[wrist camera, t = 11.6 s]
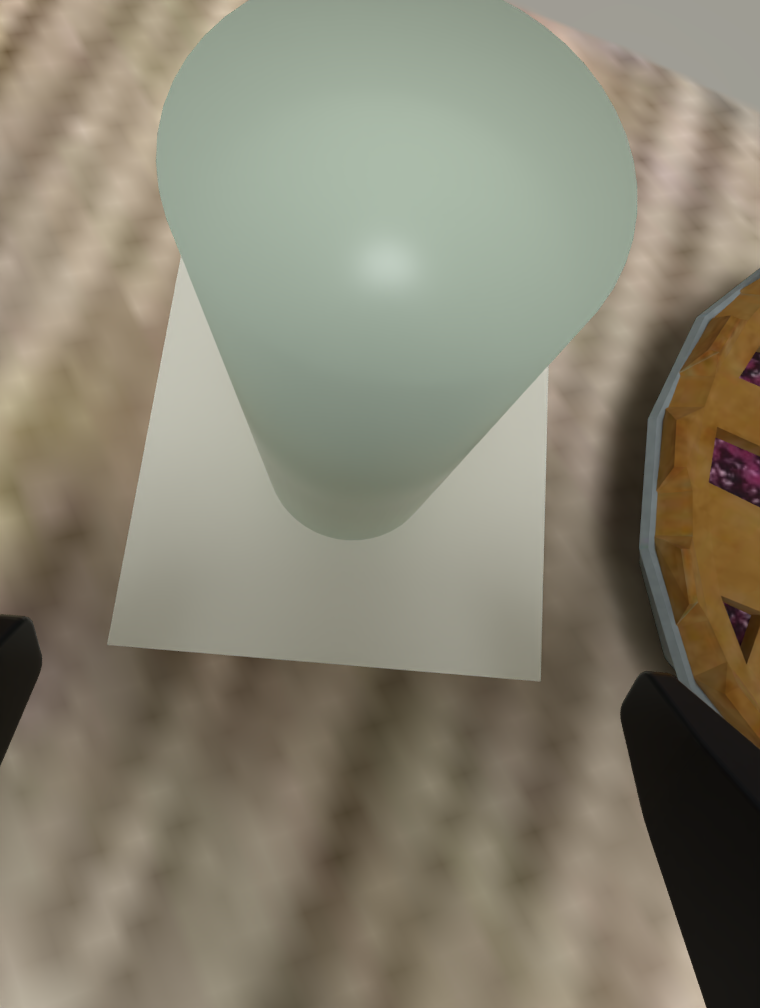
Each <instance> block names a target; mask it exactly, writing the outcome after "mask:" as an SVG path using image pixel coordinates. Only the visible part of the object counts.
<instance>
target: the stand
mask: <svg viewBox="0 0 760 1008" xmlns="http://www.w3.org/2000/svg"><path fill="white" fill-rule="evenodd" d="M547 405H548V366H547V368H546V369H545V370H544V371H543V372H542V373H541V374H540V375H539V376H538V378H537V379H536V380H535V381H534V382H533V383H532V384H531V385H530V386H529V387H528V389H527V390H526V391H525V392H524V393H523V394H522V395H521V396H520V397H519V398H518V400H517V401H516V402H515V403H514V404H513V405H512V406H511V407H510V408H509V410H508V411H507V412H506V413H505V414H504V415H503V416H502V417H501V418H500V419H499V421H498V422H497V423H496V424H495V425H494V426H493V427H492V428H491V429H490V430H489V432H488V433H487V434H486V435H485V436H484V437H483V438H482V439H481V440H480V442H479V443H478V444H477V445H476V446H475V447H474V448H473V449H472V450H471V451H470V453H469V454H468V455H467V456H466V457H465V458H464V459H463V460H462V461H461V463H460V464H459V465H458V466H457V467H456V468H455V469H454V470H453V471H452V472H451V474H450V475H449V476H448V477H447V478H446V479H445V480H444V481H443V482H442V483H441V485H440V486H439V487H438V488H437V489H436V490H435V491H434V492H433V493H432V495H431V496H430V497H429V498H428V499H427V500H426V501H425V502H424V503H423V504H422V506H421V507H420V508H419V509H418V510H417V511H416V512H415V513H414V514H413V515H412V516H411V517H410V518H409V519H408V520H407V521H406V522H405V523H403V524H402V525H401V526H399V527H397V528H396V529H394V530H393V531H391V532H388V533H386V534H384V535H381V536H378V537H374V538H371V539H364V540H341V539H335V538H331V537H327V536H324V535H321V534H319V533H316V532H314V531H313V530H311V529H309V528H307V527H305V526H304V525H303V524H301V523H300V522H299V521H297V520H296V519H295V518H294V517H293V516H292V515H291V514H290V513H289V512H288V511H287V510H286V508H285V507H284V506H283V505H282V503H281V502H280V500H279V498H278V497H277V495H276V493H275V490H274V488H273V486H272V483H271V481H270V478H269V476H268V473H267V471H266V468H265V466H264V463H263V461H262V458H261V456H260V453H259V451H258V448H257V446H256V443H255V441H254V438H253V436H252V433H251V430H250V428H249V425H248V423H247V420H246V418H245V415H244V413H243V410H242V408H241V405H240V403H239V400H238V398H237V395H236V393H235V390H234V388H233V385H232V383H231V380H230V378H229V375H228V373H227V370H226V368H225V365H224V363H223V360H222V358H221V355H220V353H219V350H218V347H217V345H216V342H215V340H214V337H213V335H212V332H211V330H210V327H209V325H208V322H207V320H206V317H205V315H204V312H203V310H202V307H201V305H200V302H199V300H198V297H197V295H196V292H195V290H194V287H193V285H192V282H191V280H190V277H189V275H188V272H187V269H186V267H185V264H184V262H183V259H182V257H181V259H180V264H179V270H178V275H177V280H176V285H175V291H174V296H173V301H172V306H171V312H170V317H169V322H168V327H167V333H166V338H165V343H164V349H163V354H162V359H161V364H160V370H159V375H158V380H157V385H156V391H155V396H154V401H153V406H152V412H151V417H150V422H149V427H148V433H147V438H146V443H145V448H144V454H143V459H142V464H141V469H140V475H139V480H138V485H137V490H136V496H135V501H134V506H133V511H132V517H131V522H130V527H129V532H128V538H127V543H126V548H125V553H124V559H123V564H122V569H121V574H120V580H119V585H118V590H117V595H116V601H115V606H114V611H113V616H112V622H111V627H110V632H109V637H108V643H107V645H113V646H125V647H137V648H149V649H161V650H172V651H184V652H196V653H208V654H220V655H232V656H244V657H255V658H267V659H279V660H291V661H303V662H315V663H327V664H338V665H350V666H362V667H374V668H386V669H398V670H410V671H421V672H433V673H445V674H457V675H469V676H481V677H493V678H504V679H516V680H528V681H540V682H541V646H542V605H543V565H544V525H545V485H546V445H547Z"/></svg>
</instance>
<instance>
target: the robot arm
mask: <svg viewBox="0 0 760 1008" xmlns="http://www.w3.org/2000/svg"><path fill="white" fill-rule="evenodd" d="M41 667H42V654H41V650H40V647H39V643H38V639H37V636H36V632H35V628H34V625H33V622H32V621H31V620H30V619H29V618H28V617H25V616H16V615H5V614H0V765H1V763H2V761H3V759H4V756H5V754H6V752H7V749H8V747H9V745H10V742H11V740H12V737H13V735H14V733H15V730H16V728H17V726H18V723H19V721H20V719H21V716H22V714H23V712H24V709H25V707H26V704H27V702H28V700H29V697H30V695H31V693H32V690H33V688H34V686H35V683H36V681H37V679H38V676H39V674H40V671H41ZM620 715H621V723H622V727H623V732H624V736H625V740H626V745H627V749H628V754H629V758H630V762H631V767H632V771H633V775H634V780H635V784H636V788H637V793H638V797H639V801H640V805H641V809H642V813H643V817H644V821H645V824H646V827H647V830H648V833H649V837H650V840H651V843H652V846H653V849H654V852H655V855H656V858H657V861H658V864H659V867H660V870H661V873H662V876H663V879H664V882H665V885H666V888H667V891H668V894H669V897H670V900H671V903H672V906H673V909H674V912H675V915H676V918H677V921H678V924H679V927H680V930H681V933H682V936H683V939H684V942H685V945H686V948H687V951H688V954H689V957H690V960H691V963H692V966H693V969H694V972H695V975H696V978H697V981H698V984H699V987H700V990H701V993H702V996H703V999H704V1002H705V1005H706V1008H760V749H759V748H758V747H757V746H756V745H754V744H753V743H752V742H751V741H750V740H749V739H747V738H746V737H745V736H744V735H743V734H742V733H740V732H739V731H738V730H737V729H736V728H734V727H733V726H732V725H731V724H730V723H729V722H727V721H726V720H725V719H724V718H723V717H721V716H720V715H719V714H718V713H717V712H716V711H714V710H713V709H712V708H711V707H710V706H708V705H707V704H706V703H705V702H704V701H703V700H701V699H700V698H699V697H698V696H697V695H696V694H694V693H693V692H692V691H691V690H690V689H688V688H687V687H686V686H685V685H684V684H683V683H681V682H680V681H679V680H678V679H677V678H675V677H674V676H673V675H671V674H668V673H663V672H651V671H644V672H642V673H641V674H639V676H638V677H637V679H636V680H635V682H634V684H633V686H632V687H631V689H630V691H629V693H628V694H627V696H626V698H625V699H624V701H623V703H622V706H621V712H620Z"/></svg>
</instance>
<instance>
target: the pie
mask: <svg viewBox="0 0 760 1008" xmlns="http://www.w3.org/2000/svg"><path fill="white" fill-rule="evenodd" d="M639 550H640V561H639V564H640V568H641V571H642V575H643V579H644V582H645V586H646V590H647V594H648V597H649V601H650V605H651V609H652V612H653V616H654V620H655V623H656V627H657V631H658V635H659V638H660V642H661V646H662V649H663V653H664V656H665V659H666V660H667V661H668V662H669V664H670V665H671V666H672V667H673V668H674V669H675V671H676V674H677V678H678V680H679V681H680V682H681V683H683V684H684V685H685V686H686V687H687V688H688V689H690V690H691V691H692V692H693V693H694V694H696V695H697V696H698V697H699V698H700V699H701V700H703V701H704V702H705V703H706V704H707V705H708V706H710V707H711V708H712V709H713V710H714V711H716V712H717V713H718V714H719V715H720V716H721V717H723V718H724V719H725V720H726V721H727V722H729V723H730V724H731V725H732V726H733V727H734V728H736V729H737V730H738V731H739V732H740V733H742V734H743V735H744V736H745V737H746V738H747V739H749V740H750V741H751V742H752V743H753V744H754V745H756V746H757V747H758V748H759V749H760V268H759V269H758V270H757V271H756V272H754V273H753V274H752V275H750V276H749V277H748V278H747V279H745V280H744V281H743V282H741V283H740V284H739V285H738V286H736V287H735V288H734V289H732V290H731V291H730V292H729V293H727V294H726V295H725V296H723V297H722V298H721V299H720V300H718V301H717V302H716V303H714V304H713V305H712V306H711V307H709V308H708V309H707V310H705V311H704V312H703V313H702V314H700V315H699V316H698V317H696V319H695V322H694V324H693V326H692V328H691V330H690V332H689V334H688V336H687V338H686V340H685V343H684V345H683V347H682V349H681V351H680V353H679V355H678V357H677V359H676V361H675V363H674V366H673V368H672V370H671V372H670V374H669V376H668V378H667V380H666V382H665V384H664V386H663V389H662V391H661V393H660V395H659V397H658V399H657V401H656V403H655V405H654V407H653V409H652V412H651V414H650V416H649V418H648V427H647V441H646V455H645V470H644V484H643V498H642V513H641V527H640V541H639Z"/></svg>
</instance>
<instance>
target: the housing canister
mask: <svg viewBox="0 0 760 1008" xmlns="http://www.w3.org/2000/svg"><path fill="white" fill-rule="evenodd" d="M156 166H157V176H158V185H159V192H160V196H161V200H162V204H163V208H164V211H165V215H166V219H167V222H168V224H169V227H170V229H171V232H172V234H173V237H174V239H175V242H176V244H177V247H178V249H179V252H180V254H181V257H182V259H183V262H184V264H185V267H186V269H187V272H188V275H189V277H190V280H191V282H192V285H193V287H194V290H195V292H196V295H197V297H198V300H199V302H200V305H201V307H202V310H203V312H204V315H205V317H206V320H207V322H208V325H209V327H210V330H211V332H212V335H213V337H214V340H215V342H216V345H217V347H218V350H219V353H220V355H221V358H222V360H223V363H224V365H225V368H226V370H227V373H228V375H229V378H230V380H231V383H232V385H233V388H234V390H235V393H236V395H237V398H238V400H239V403H240V405H241V408H242V410H243V413H244V415H245V418H246V420H247V423H248V425H249V428H250V430H251V433H252V436H253V438H254V441H255V443H256V446H257V448H258V451H259V453H260V456H261V458H262V461H263V463H264V466H265V468H266V471H267V473H268V476H269V478H270V481H271V483H272V486H273V488H274V490H275V493H276V495H277V497H278V498H279V500H280V502H281V503H282V505H283V506H284V507H285V508H286V510H287V511H288V512H289V513H290V514H291V515H292V516H293V517H294V518H295V519H296V520H297V521H299V522H300V523H301V524H303V525H304V526H305V527H307V528H309V529H311V530H313V531H314V532H316V533H319V534H321V535H324V536H327V537H331V538H335V539H341V540H364V539H371V538H374V537H378V536H381V535H384V534H386V533H388V532H391V531H393V530H394V529H396V528H397V527H399V526H401V525H402V524H403V523H405V522H406V521H407V520H408V519H409V518H410V517H411V516H412V515H413V514H414V513H415V512H416V511H417V510H418V509H419V508H420V507H421V506H422V504H423V503H424V502H425V501H426V500H427V499H428V498H429V497H430V496H431V495H432V493H433V492H434V491H435V490H436V489H437V488H438V487H439V486H440V485H441V483H442V482H443V481H444V480H445V479H446V478H447V477H448V476H449V475H450V474H451V472H452V471H453V470H454V469H455V468H456V467H457V466H458V465H459V464H460V463H461V461H462V460H463V459H464V458H465V457H466V456H467V455H468V454H469V453H470V451H471V450H472V449H473V448H474V447H475V446H476V445H477V444H478V443H479V442H480V440H481V439H482V438H483V437H484V436H485V435H486V434H487V433H488V432H489V430H490V429H491V428H492V427H493V426H494V425H495V424H496V423H497V422H498V421H499V419H500V418H501V417H502V416H503V415H504V414H505V413H506V412H507V411H508V410H509V408H510V407H511V406H512V405H513V404H514V403H515V402H516V401H517V400H518V398H519V397H520V396H521V395H522V394H523V393H524V392H525V391H526V390H527V389H528V387H529V386H530V385H531V384H532V383H533V382H534V381H535V380H536V379H537V378H538V376H539V375H540V374H541V373H542V372H543V371H544V370H545V369H546V368H547V366H548V365H549V364H550V363H551V362H552V361H553V360H554V359H555V358H556V357H557V355H558V354H559V353H560V352H561V351H562V350H563V349H564V348H565V347H566V345H567V344H568V343H569V342H570V341H571V340H572V339H573V338H574V337H575V336H576V334H577V333H578V332H579V331H580V330H581V329H582V328H583V327H584V326H585V325H586V323H587V322H588V321H589V320H590V319H591V318H592V317H593V316H594V315H595V313H596V312H597V311H598V310H599V309H600V307H601V306H602V304H603V303H604V301H605V300H606V298H607V297H608V296H609V294H610V293H611V291H612V290H613V288H614V286H615V284H616V282H617V280H618V278H619V276H620V274H621V272H622V270H623V268H624V266H625V264H626V260H627V257H628V254H629V251H630V247H631V244H632V241H633V237H634V230H635V223H636V217H637V182H636V175H635V168H634V161H633V157H632V154H631V150H630V147H629V143H628V139H627V136H626V133H625V131H624V129H623V126H622V124H621V122H620V119H619V117H618V115H617V112H616V110H615V108H614V107H613V105H612V103H611V102H610V100H609V98H608V96H607V95H606V93H605V91H604V90H603V88H602V86H601V85H600V84H599V82H598V81H597V80H596V78H595V77H594V76H593V74H592V73H591V72H590V70H589V69H588V68H587V66H586V65H585V64H584V63H583V62H582V61H581V60H580V59H579V58H578V57H577V56H576V55H575V53H574V52H573V51H572V50H571V49H570V48H569V47H568V46H567V45H566V44H565V43H564V42H562V41H561V40H560V39H559V38H558V37H557V36H555V35H554V34H553V33H552V32H551V31H549V30H548V29H547V28H546V27H545V26H543V25H542V24H540V23H539V22H538V21H536V20H535V19H533V18H532V17H530V16H529V15H527V14H526V13H524V12H523V11H521V10H520V9H518V8H516V7H514V6H512V5H510V4H509V3H507V2H505V1H503V0H249V1H247V2H246V3H244V4H243V5H241V6H240V7H238V8H237V9H236V10H234V11H233V12H231V13H230V14H228V15H227V16H225V17H224V18H223V19H222V20H221V21H220V22H219V23H218V24H217V25H215V26H214V27H213V28H212V29H211V30H210V31H209V32H208V33H207V34H206V35H205V36H204V37H203V38H202V39H201V40H200V42H199V43H198V44H197V45H196V47H195V48H194V49H193V50H192V52H191V53H190V54H189V55H188V57H187V58H186V60H185V62H184V63H183V65H182V67H181V68H180V70H179V72H178V74H177V75H176V77H175V79H174V80H173V83H172V85H171V88H170V91H169V93H168V96H167V98H166V101H165V103H164V106H163V110H162V115H161V120H160V124H159V129H158V134H157V153H156Z"/></svg>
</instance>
